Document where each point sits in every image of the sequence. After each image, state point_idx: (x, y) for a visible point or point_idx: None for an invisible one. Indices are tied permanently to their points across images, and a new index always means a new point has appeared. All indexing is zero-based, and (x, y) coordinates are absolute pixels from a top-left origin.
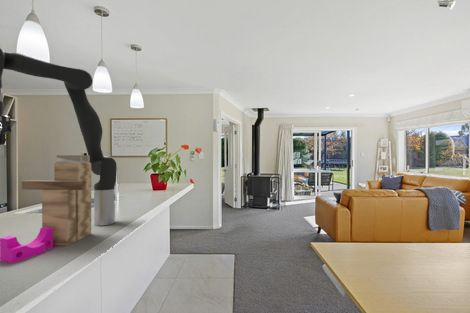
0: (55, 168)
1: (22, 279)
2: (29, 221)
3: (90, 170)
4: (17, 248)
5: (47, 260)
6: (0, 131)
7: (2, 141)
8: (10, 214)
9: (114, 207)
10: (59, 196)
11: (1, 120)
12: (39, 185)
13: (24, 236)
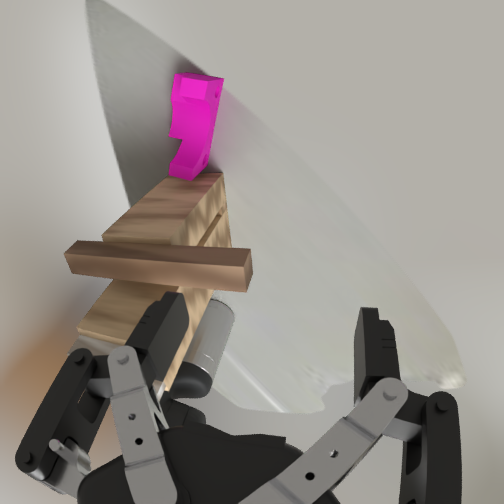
0: None
1: (114, 32)
2: (396, 331)
3: None
4: (173, 83)
5: (138, 98)
6: (108, 362)
7: (148, 313)
8: (463, 368)
9: None
10: (129, 225)
11: (49, 437)
12: (179, 253)
13: (318, 227)
